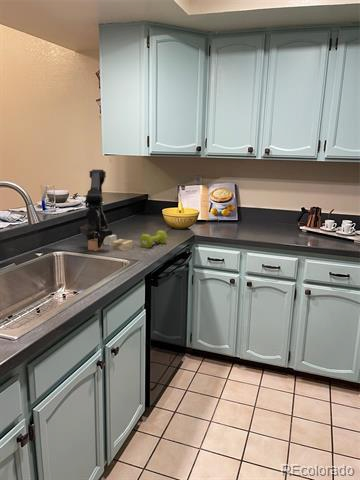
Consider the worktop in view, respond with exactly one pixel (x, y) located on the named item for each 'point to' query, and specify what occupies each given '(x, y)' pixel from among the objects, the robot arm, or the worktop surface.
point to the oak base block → (122, 244)
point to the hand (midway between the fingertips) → (95, 247)
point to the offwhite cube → (110, 239)
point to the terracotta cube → (93, 245)
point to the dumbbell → (153, 239)
